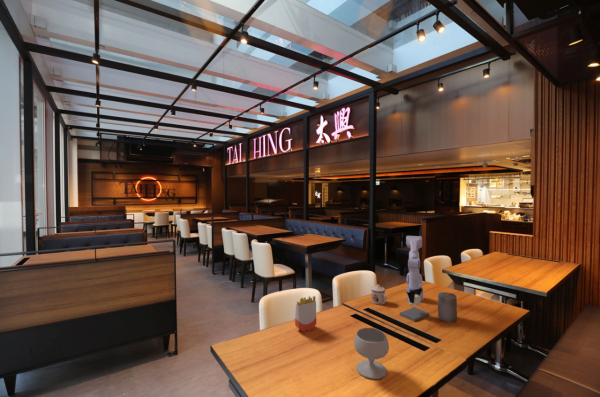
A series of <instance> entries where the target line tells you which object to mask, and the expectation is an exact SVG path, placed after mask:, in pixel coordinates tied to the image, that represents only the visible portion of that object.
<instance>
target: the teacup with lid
mask: <svg viewBox="0 0 600 397" xmlns="http://www.w3.org/2000/svg"><path fill="white" fill-rule="evenodd" d="M370 290H371V303H372V304H373V305H378V306H379V305H381V306H382V305H384V304H385V303H386V301H387V300H388V299H387V298H388V297H387V295H386V289H385V288H384V287H383V286H381V285H380V284H376V285H375V286H372V287H371V289H370Z"/></svg>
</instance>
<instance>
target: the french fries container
mask: <svg viewBox="0 0 600 397" xmlns="http://www.w3.org/2000/svg"><path fill="white" fill-rule="evenodd" d="M294 316H295V318H294V322H295V326H296V328H298V329H299V330H300V331H301V332H303V331H305V332H307V331H306V330H309V331H311V330H310V329H312V330H313V329H314V328H315V327H316V325H317V300H316V296H315V295H313V296H312V297H311V296H310V295H309V296H308V298H306V297H301V298H299V301H297V302H296V305H295V314H294Z"/></svg>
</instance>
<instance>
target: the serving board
mask: <svg viewBox="0 0 600 397" xmlns="http://www.w3.org/2000/svg"><path fill="white" fill-rule="evenodd" d="M399 316H400V317H403V318H405V319H408V320H410V321H412V322H417V321H420V320H422V319H424V318H426V317H429V316H430V312H428V311H425V310H424V309H423V310H422V309H420V308H417V307H416V306H414V307H411V308H409V309H406V310H403V311H401V312H399Z"/></svg>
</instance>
